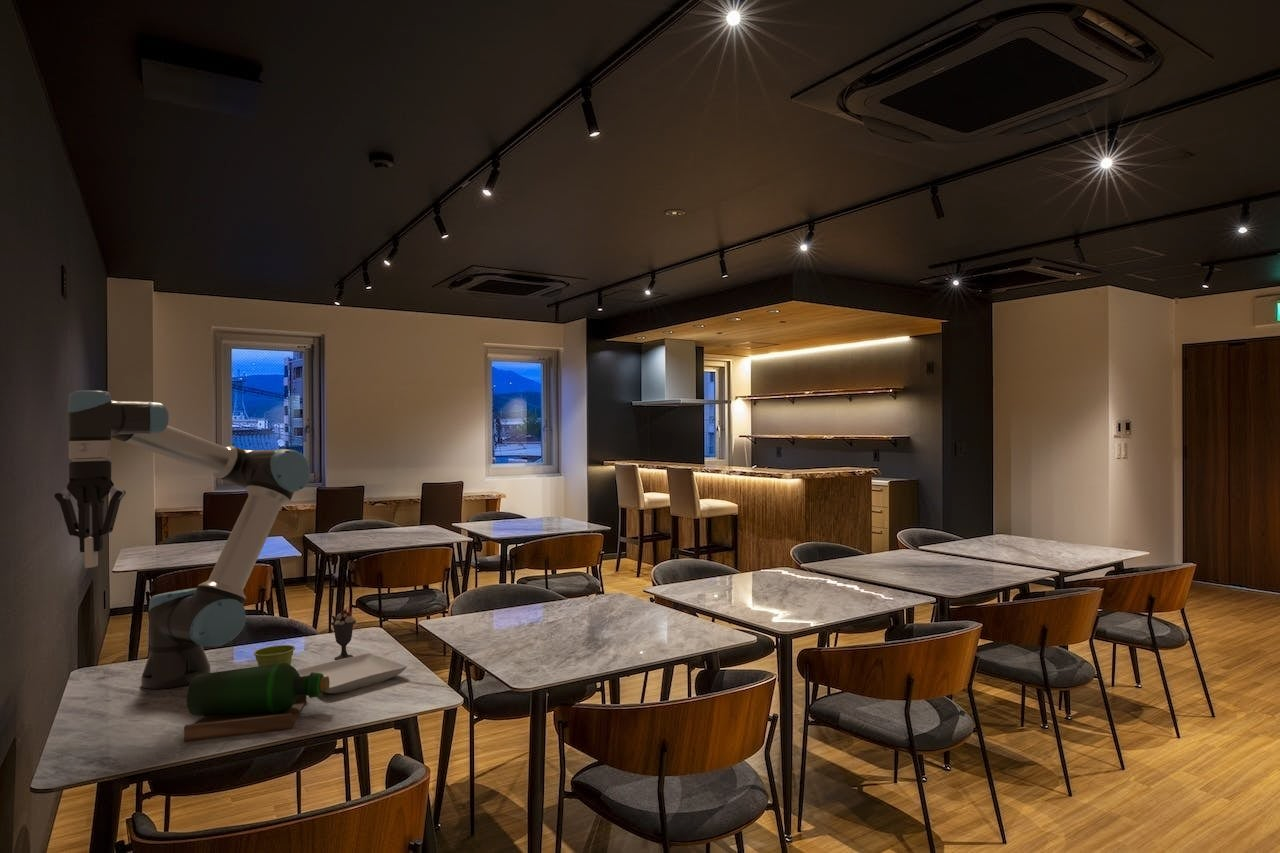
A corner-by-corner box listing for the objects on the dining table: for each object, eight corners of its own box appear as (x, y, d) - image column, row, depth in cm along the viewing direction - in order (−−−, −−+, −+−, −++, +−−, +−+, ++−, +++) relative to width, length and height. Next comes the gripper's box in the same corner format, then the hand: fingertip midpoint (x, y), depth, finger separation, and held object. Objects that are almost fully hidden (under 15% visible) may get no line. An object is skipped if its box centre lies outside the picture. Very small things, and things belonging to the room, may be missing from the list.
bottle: (201, 718, 163) (332, 706, 168) (180, 723, 153) (320, 710, 158) (205, 669, 166) (334, 658, 171) (184, 670, 156) (322, 659, 160)
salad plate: (290, 683, 184) (289, 670, 184) (369, 663, 200) (369, 651, 200) (326, 702, 170) (326, 687, 170) (409, 679, 185) (408, 665, 186)
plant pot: (247, 686, 182) (246, 651, 182) (284, 676, 190) (283, 642, 190) (265, 693, 176) (264, 657, 177) (302, 682, 184) (302, 648, 184)
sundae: (361, 656, 206) (360, 603, 207) (340, 662, 200) (340, 608, 201) (347, 653, 210) (346, 601, 210) (326, 659, 204) (325, 605, 204)
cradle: (211, 711, 165) (211, 697, 165) (306, 700, 170) (306, 687, 170) (184, 741, 148) (184, 726, 148) (291, 729, 153) (291, 714, 153)
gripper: (46, 461, 155) (47, 571, 155) (117, 459, 159) (118, 567, 159) (63, 461, 163) (64, 566, 162) (130, 459, 166) (132, 562, 166)
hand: (91, 566), depth 160 cm, fingers closed
